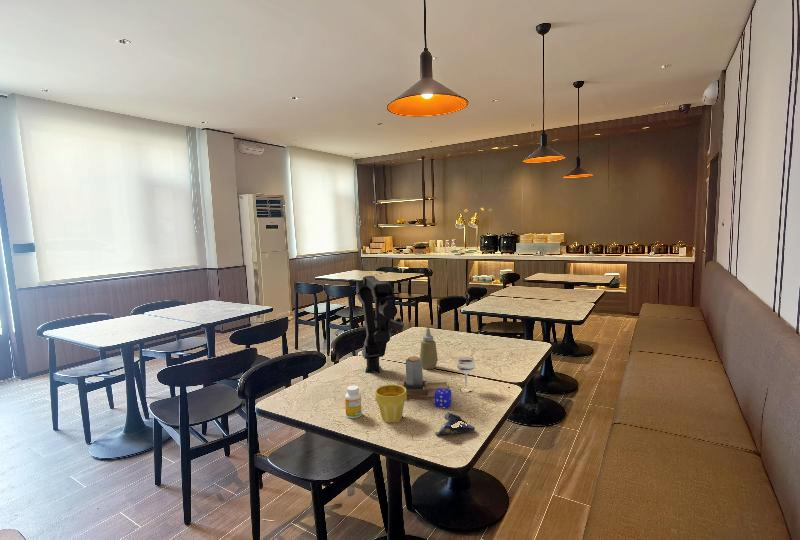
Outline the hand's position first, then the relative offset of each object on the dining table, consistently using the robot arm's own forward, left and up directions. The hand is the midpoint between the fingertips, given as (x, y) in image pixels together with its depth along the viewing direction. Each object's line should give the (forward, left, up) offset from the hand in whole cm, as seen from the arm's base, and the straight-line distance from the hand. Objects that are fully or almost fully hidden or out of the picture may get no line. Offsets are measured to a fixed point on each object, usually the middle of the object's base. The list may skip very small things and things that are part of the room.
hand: (383, 352), depth 170 cm
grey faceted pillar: (+11, +12, -12) cm, 20 cm away
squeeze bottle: (-18, +19, -13) cm, 29 cm away
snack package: (+41, +24, -14) cm, 49 cm away
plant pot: (+32, +4, -13) cm, 35 cm away
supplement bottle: (+29, -9, -13) cm, 33 cm away
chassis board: (+10, +15, -13) cm, 22 cm away
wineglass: (+9, +32, -13) cm, 36 cm away
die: (+22, +22, -13) cm, 34 cm away
